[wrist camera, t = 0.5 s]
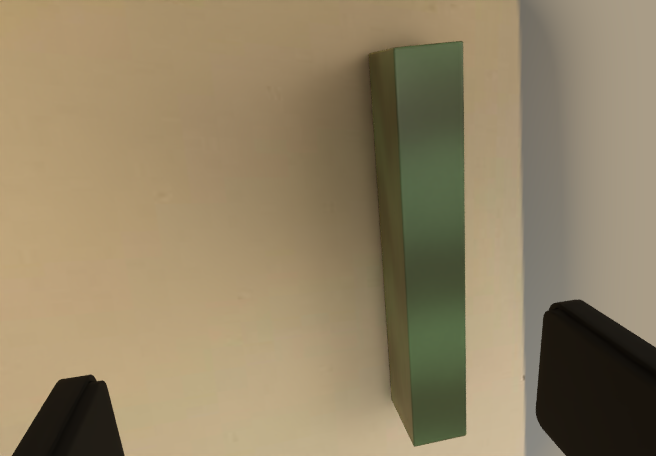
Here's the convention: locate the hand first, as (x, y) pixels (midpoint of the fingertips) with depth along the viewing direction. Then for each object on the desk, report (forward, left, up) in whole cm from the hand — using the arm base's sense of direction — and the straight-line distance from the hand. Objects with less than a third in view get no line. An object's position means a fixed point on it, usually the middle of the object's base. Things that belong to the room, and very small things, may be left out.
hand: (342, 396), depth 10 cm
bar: (+3, +7, -15) cm, 17 cm away
